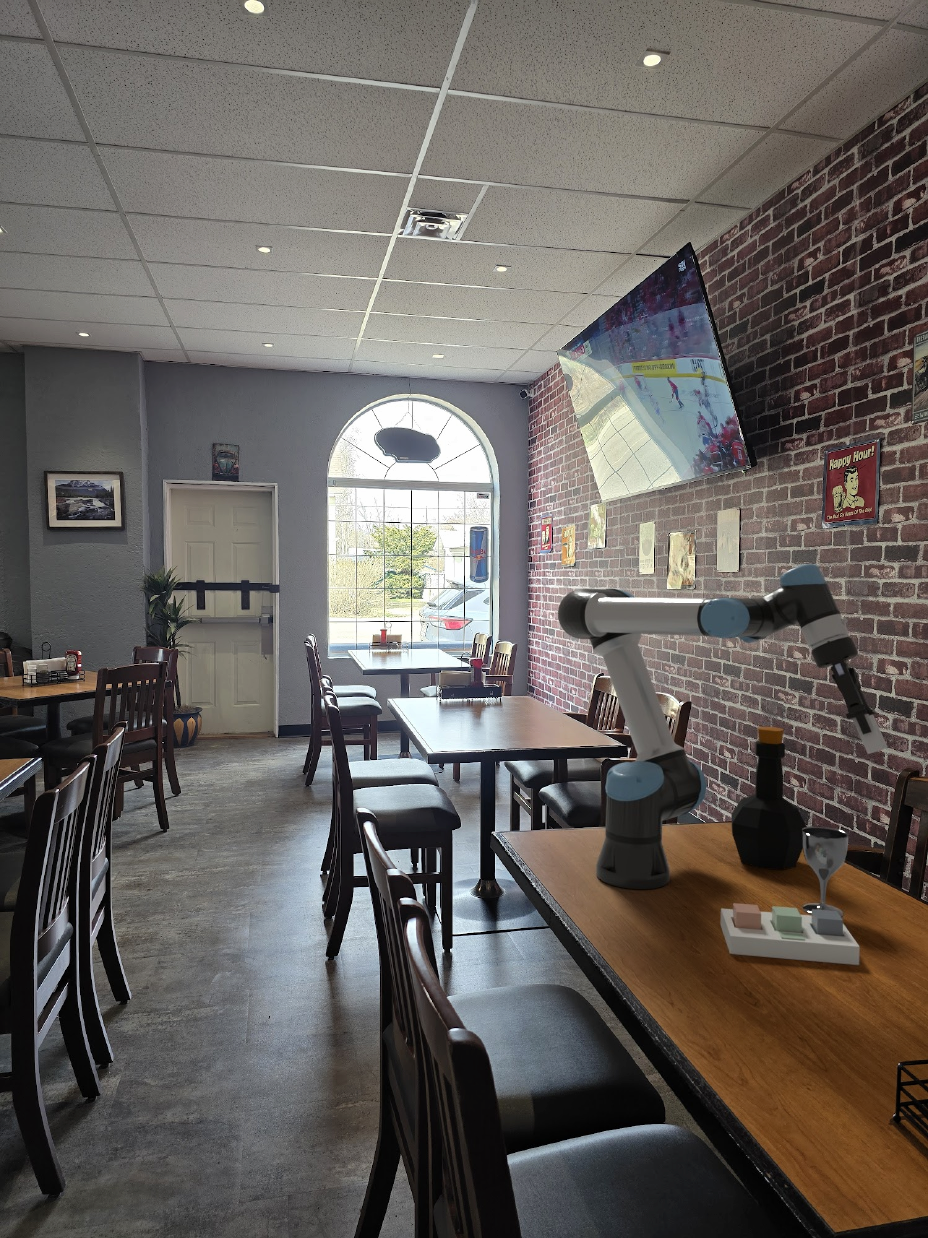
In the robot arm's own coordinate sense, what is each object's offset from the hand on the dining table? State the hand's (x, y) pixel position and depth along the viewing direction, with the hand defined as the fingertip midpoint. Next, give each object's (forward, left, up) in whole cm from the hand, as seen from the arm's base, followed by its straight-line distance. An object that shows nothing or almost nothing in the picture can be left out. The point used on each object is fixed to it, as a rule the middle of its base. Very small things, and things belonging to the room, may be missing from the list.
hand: (878, 751), depth 147 cm
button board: (-18, -13, -32) cm, 38 cm away
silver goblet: (-8, +4, -32) cm, 33 cm away
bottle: (-13, +32, -32) cm, 47 cm away
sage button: (-18, -13, -29) cm, 37 cm away
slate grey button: (-11, -13, -29) cm, 34 cm away
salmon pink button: (-24, -13, -29) cm, 40 cm away
